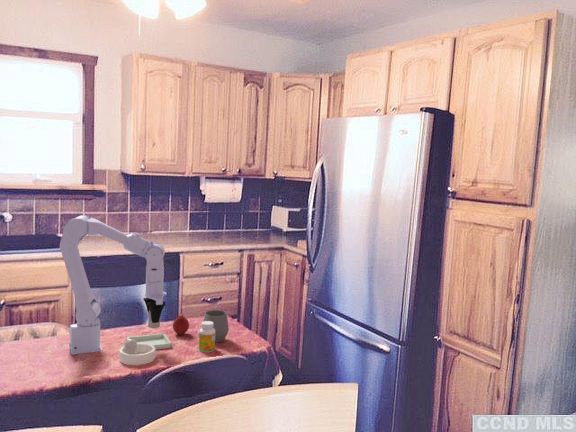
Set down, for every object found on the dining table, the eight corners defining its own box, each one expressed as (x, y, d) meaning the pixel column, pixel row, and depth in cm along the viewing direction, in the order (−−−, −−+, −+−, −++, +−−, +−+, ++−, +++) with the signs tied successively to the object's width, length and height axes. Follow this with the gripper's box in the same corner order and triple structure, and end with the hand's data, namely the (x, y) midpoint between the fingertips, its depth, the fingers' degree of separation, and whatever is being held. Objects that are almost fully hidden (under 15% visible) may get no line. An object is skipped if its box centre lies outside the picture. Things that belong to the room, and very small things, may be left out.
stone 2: (149, 328, 178) (150, 309, 177) (146, 325, 181) (147, 306, 181) (161, 327, 180) (161, 308, 179) (158, 324, 183) (158, 305, 182)
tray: (132, 353, 176) (132, 347, 176) (126, 342, 186) (126, 337, 186) (171, 348, 182) (171, 343, 182) (163, 338, 192) (163, 333, 192)
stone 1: (127, 361, 168) (127, 342, 167) (122, 358, 171) (122, 338, 170) (139, 359, 170) (138, 339, 169) (134, 355, 173) (134, 336, 172)
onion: (186, 338, 193) (187, 316, 192) (170, 337, 193) (171, 315, 193) (190, 333, 199) (190, 312, 198) (174, 332, 199) (175, 311, 198)
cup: (231, 337, 196) (232, 310, 195) (224, 346, 187) (224, 317, 186) (206, 335, 198) (207, 308, 197) (197, 343, 189) (198, 315, 188)
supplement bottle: (195, 352, 180) (196, 323, 179) (203, 347, 185) (204, 319, 184) (209, 354, 179) (210, 326, 178) (217, 349, 184) (218, 321, 183)
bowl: (122, 368, 164) (122, 357, 164) (116, 356, 174) (116, 345, 173) (158, 363, 169) (158, 352, 169) (150, 352, 179) (150, 341, 178)
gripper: (172, 284, 174) (171, 325, 176) (161, 275, 187) (160, 313, 189) (150, 286, 171) (149, 327, 172) (140, 276, 184) (139, 315, 185)
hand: (153, 320), depth 180 cm, fingers closed on stone 2, 4 cm apart
